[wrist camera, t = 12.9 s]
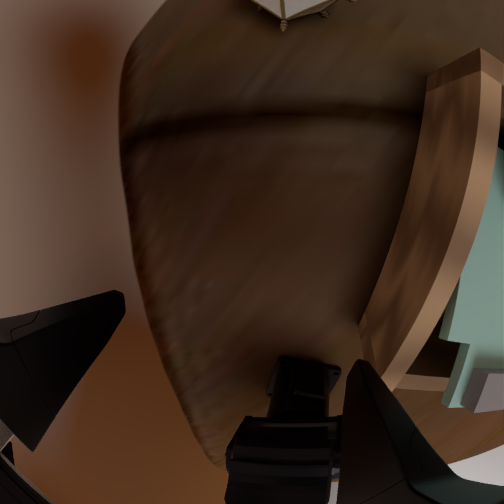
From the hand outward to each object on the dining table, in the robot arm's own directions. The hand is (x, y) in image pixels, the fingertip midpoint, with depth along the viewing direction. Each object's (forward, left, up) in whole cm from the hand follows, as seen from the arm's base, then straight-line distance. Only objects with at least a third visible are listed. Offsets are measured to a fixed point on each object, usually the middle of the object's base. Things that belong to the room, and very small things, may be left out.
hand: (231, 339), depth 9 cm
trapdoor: (+3, -18, -7) cm, 20 cm away
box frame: (+4, -18, -13) cm, 22 cm away
